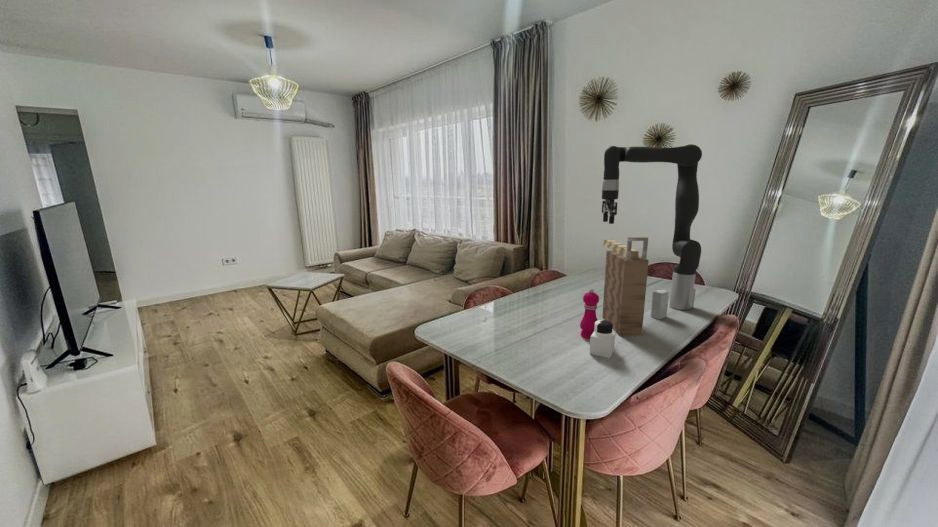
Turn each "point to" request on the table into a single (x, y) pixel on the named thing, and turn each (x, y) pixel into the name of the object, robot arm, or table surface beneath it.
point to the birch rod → (620, 248)
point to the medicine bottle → (602, 339)
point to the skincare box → (659, 304)
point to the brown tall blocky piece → (625, 289)
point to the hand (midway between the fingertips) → (608, 222)
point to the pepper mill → (589, 314)
